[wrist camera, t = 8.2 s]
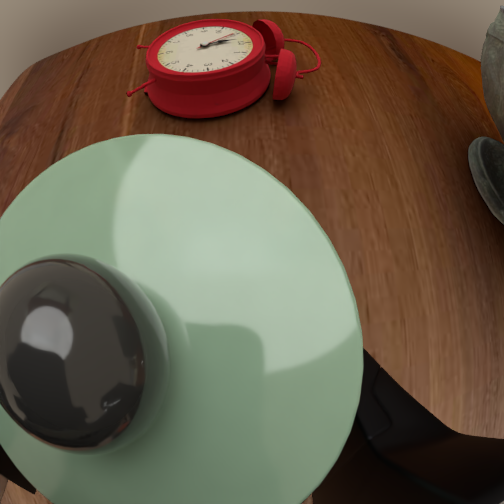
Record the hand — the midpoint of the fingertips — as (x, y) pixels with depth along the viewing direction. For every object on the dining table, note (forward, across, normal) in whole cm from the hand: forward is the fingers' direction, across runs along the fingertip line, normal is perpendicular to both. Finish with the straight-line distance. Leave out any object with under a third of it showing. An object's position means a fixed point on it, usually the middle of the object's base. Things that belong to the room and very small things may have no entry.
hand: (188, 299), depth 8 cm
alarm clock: (+19, +1, -8) cm, 21 cm away
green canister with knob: (+4, 0, +6) cm, 7 cm away
